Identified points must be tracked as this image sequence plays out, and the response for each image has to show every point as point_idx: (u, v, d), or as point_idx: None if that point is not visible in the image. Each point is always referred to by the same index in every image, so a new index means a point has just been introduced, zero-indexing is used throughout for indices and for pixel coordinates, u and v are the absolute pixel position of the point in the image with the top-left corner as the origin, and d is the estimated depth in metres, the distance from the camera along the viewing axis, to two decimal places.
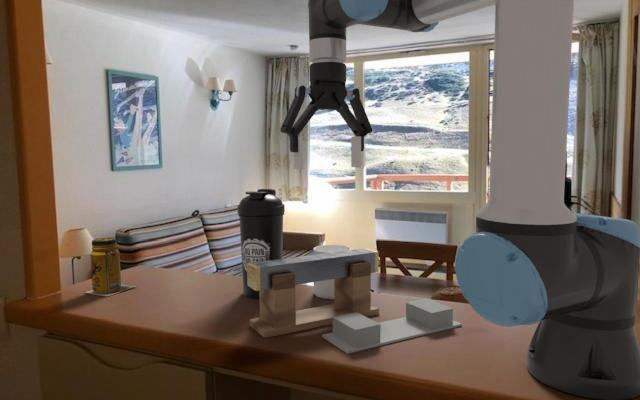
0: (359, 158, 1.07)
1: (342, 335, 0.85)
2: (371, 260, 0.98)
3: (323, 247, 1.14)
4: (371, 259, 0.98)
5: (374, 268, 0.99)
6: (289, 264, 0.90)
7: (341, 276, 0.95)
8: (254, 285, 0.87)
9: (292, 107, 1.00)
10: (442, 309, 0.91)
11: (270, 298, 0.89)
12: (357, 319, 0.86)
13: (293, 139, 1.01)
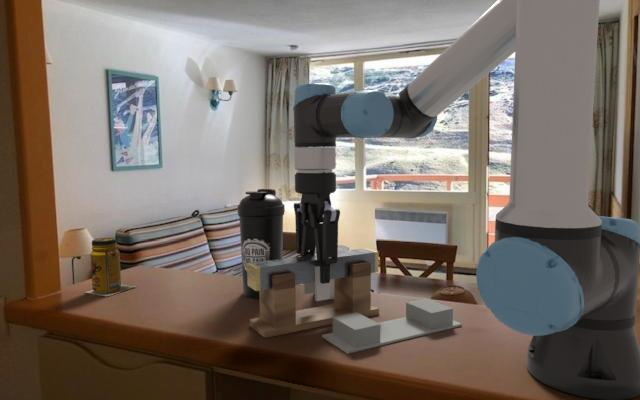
0: (315, 290, 0.92)
1: (342, 335, 0.85)
2: (371, 260, 0.98)
3: None
4: (371, 259, 0.98)
5: (374, 268, 0.99)
6: (289, 264, 0.90)
7: (341, 276, 0.95)
8: (254, 285, 0.87)
9: None
10: (442, 309, 0.91)
11: (270, 298, 0.89)
12: (357, 319, 0.86)
13: None
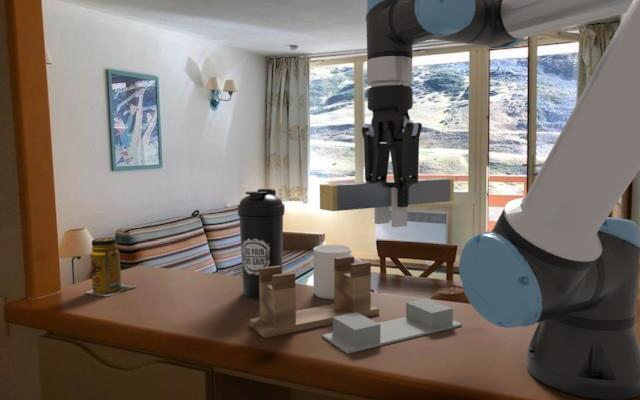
0: (392, 215, 0.85)
1: (342, 335, 0.85)
2: (446, 188, 0.91)
3: (323, 247, 1.14)
4: (446, 186, 0.91)
5: (449, 196, 0.91)
6: (366, 184, 0.82)
7: (417, 202, 0.88)
8: (330, 205, 0.80)
9: None
10: (442, 309, 0.91)
11: (270, 298, 0.89)
12: (357, 319, 0.86)
13: None
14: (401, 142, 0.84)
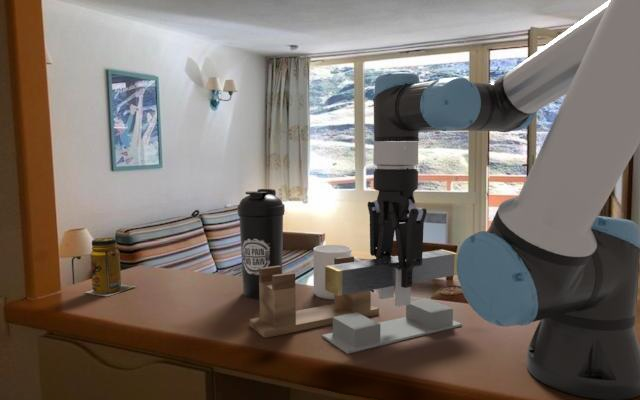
0: (396, 295, 0.86)
1: (342, 335, 0.85)
2: (450, 262, 0.92)
3: (323, 247, 1.14)
4: (450, 261, 0.92)
5: (453, 271, 0.93)
6: (371, 267, 0.83)
7: (421, 279, 0.89)
8: (335, 289, 0.81)
9: None
10: (442, 309, 0.91)
11: (270, 298, 0.89)
12: (357, 319, 0.86)
13: None
14: (406, 223, 0.86)
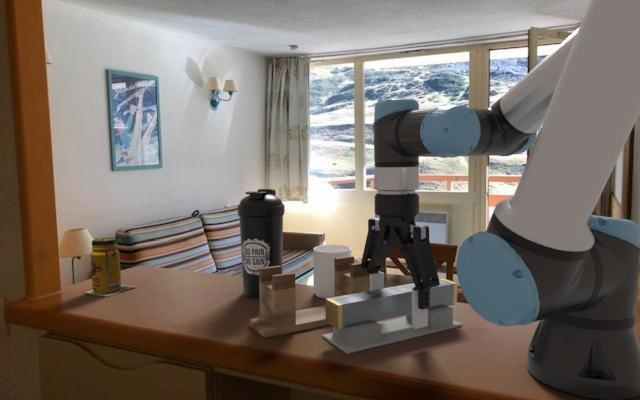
0: (413, 317, 0.83)
1: (342, 335, 0.85)
2: (450, 292, 0.93)
3: (323, 247, 1.14)
4: (450, 291, 0.93)
5: (453, 300, 0.93)
6: (371, 300, 0.84)
7: None
8: (335, 323, 0.82)
9: None
10: (442, 309, 0.91)
11: (270, 298, 0.89)
12: None
13: (369, 275, 0.94)
14: (412, 245, 0.85)
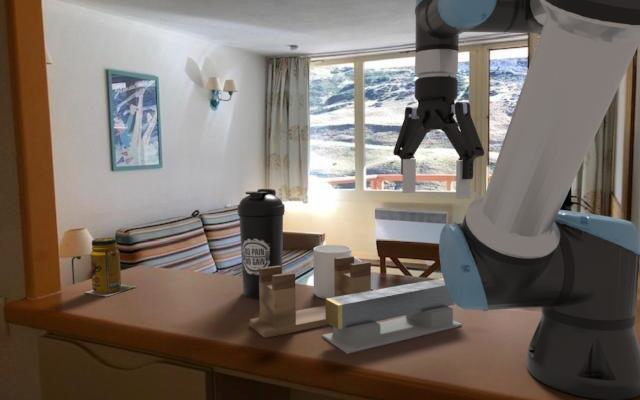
0: (457, 187, 0.87)
1: (342, 335, 0.85)
2: None
3: (323, 247, 1.14)
4: None
5: None
6: (371, 300, 0.84)
7: (421, 310, 0.90)
8: (335, 323, 0.82)
9: None
10: (442, 309, 0.91)
11: (270, 298, 0.89)
12: None
13: (401, 162, 0.99)
14: (452, 124, 0.89)
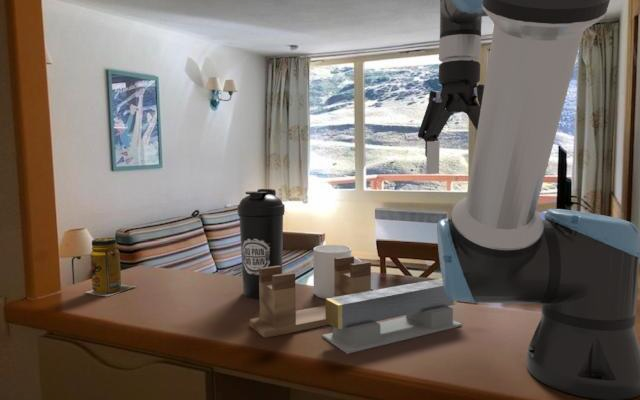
0: None
1: (342, 335, 0.85)
2: None
3: (323, 247, 1.14)
4: None
5: (453, 300, 0.93)
6: (371, 300, 0.84)
7: (421, 310, 0.90)
8: (335, 323, 0.82)
9: None
10: (442, 309, 0.91)
11: (270, 298, 0.89)
12: None
13: (426, 144, 1.04)
14: (475, 106, 0.93)
